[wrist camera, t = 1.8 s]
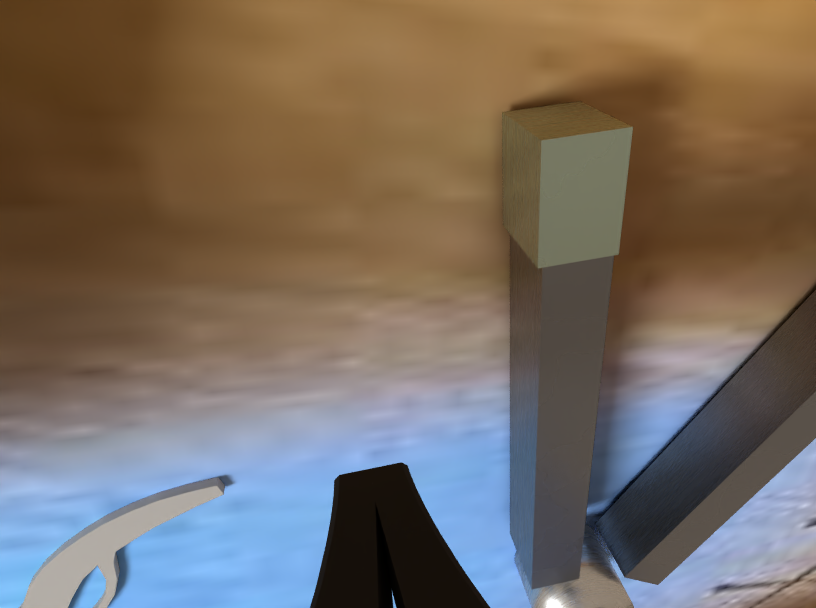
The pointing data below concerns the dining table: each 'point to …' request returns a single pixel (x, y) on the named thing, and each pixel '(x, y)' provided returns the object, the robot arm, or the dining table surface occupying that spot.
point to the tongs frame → (702, 472)
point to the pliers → (110, 544)
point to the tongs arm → (558, 317)
